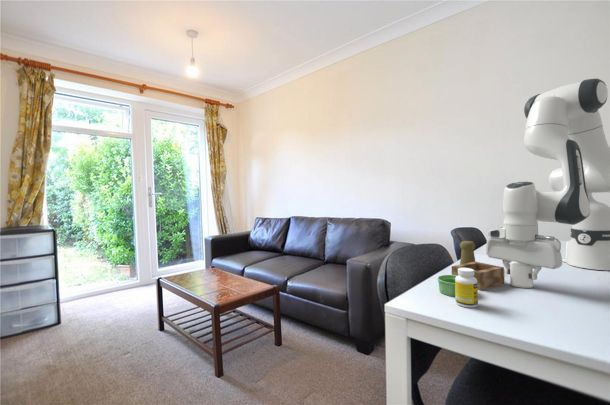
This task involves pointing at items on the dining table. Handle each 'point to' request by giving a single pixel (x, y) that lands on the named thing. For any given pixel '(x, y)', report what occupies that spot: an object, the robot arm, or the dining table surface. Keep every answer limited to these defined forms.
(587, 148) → the robot arm
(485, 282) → the walnut holder
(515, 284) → the eye dropper bottle
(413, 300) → the dining table surface
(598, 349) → the dining table surface
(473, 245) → the cork
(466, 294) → the supplement bottle
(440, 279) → the ramekin
